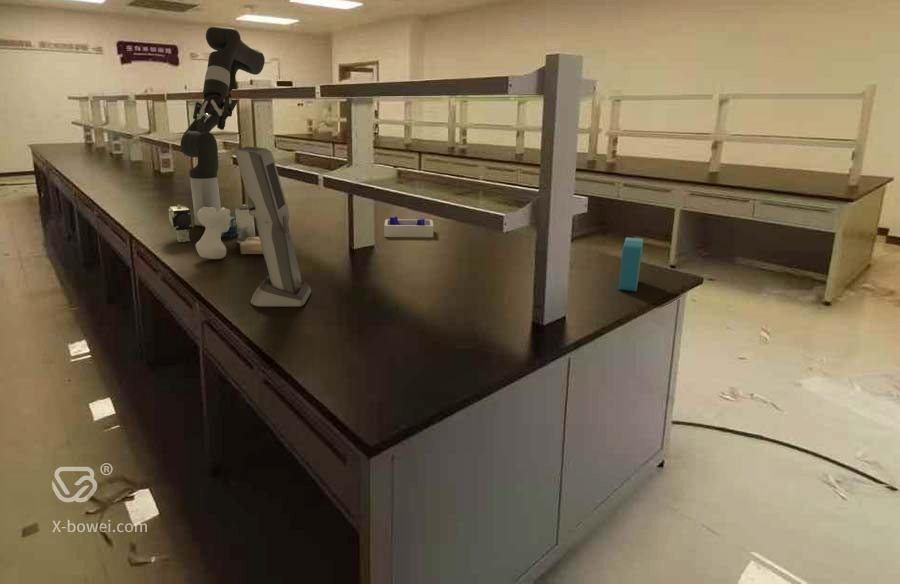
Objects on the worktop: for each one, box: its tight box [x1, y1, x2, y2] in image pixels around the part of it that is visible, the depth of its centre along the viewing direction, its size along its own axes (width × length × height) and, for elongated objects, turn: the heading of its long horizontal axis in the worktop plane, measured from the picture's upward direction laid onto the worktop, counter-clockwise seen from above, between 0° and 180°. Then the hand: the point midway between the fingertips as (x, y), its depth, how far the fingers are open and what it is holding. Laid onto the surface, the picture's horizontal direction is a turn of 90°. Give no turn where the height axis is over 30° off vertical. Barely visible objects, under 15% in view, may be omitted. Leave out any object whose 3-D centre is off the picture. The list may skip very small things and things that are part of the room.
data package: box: [618, 237, 644, 292], centre depth 152 cm, size 12×4×12 cm, turn 161°
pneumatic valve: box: [168, 204, 193, 243], centre depth 188 cm, size 6×12×12 cm, turn 32°
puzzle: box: [221, 215, 238, 237], centre depth 199 cm, size 6×6×6 cm
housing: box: [234, 203, 256, 245], centre depth 188 cm, size 6×6×12 cm
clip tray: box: [383, 218, 434, 238], centre depth 207 cm, size 11×17×4 cm, turn 94°
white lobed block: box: [195, 207, 231, 260], centre depth 168 cm, size 10×11×15 cm
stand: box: [239, 236, 264, 255], centre depth 181 cm, size 10×10×3 cm
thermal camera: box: [234, 146, 312, 308], centre depth 133 cm, size 12×13×35 cm
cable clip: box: [389, 215, 426, 225], centre depth 206 cm, size 12×4×6 cm, turn 71°
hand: (210, 130), depth 186 cm, fingers open, 8 cm apart
